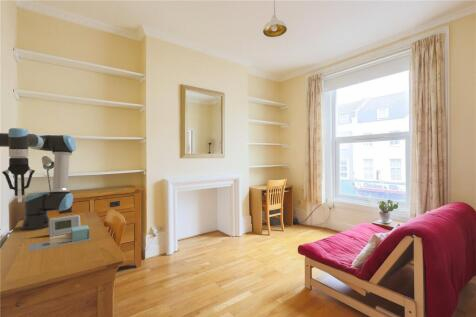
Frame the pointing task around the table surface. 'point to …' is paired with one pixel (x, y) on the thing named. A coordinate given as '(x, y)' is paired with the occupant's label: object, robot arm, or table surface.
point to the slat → (60, 239)
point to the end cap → (80, 233)
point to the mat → (47, 245)
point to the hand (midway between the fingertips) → (19, 201)
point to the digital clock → (63, 225)
